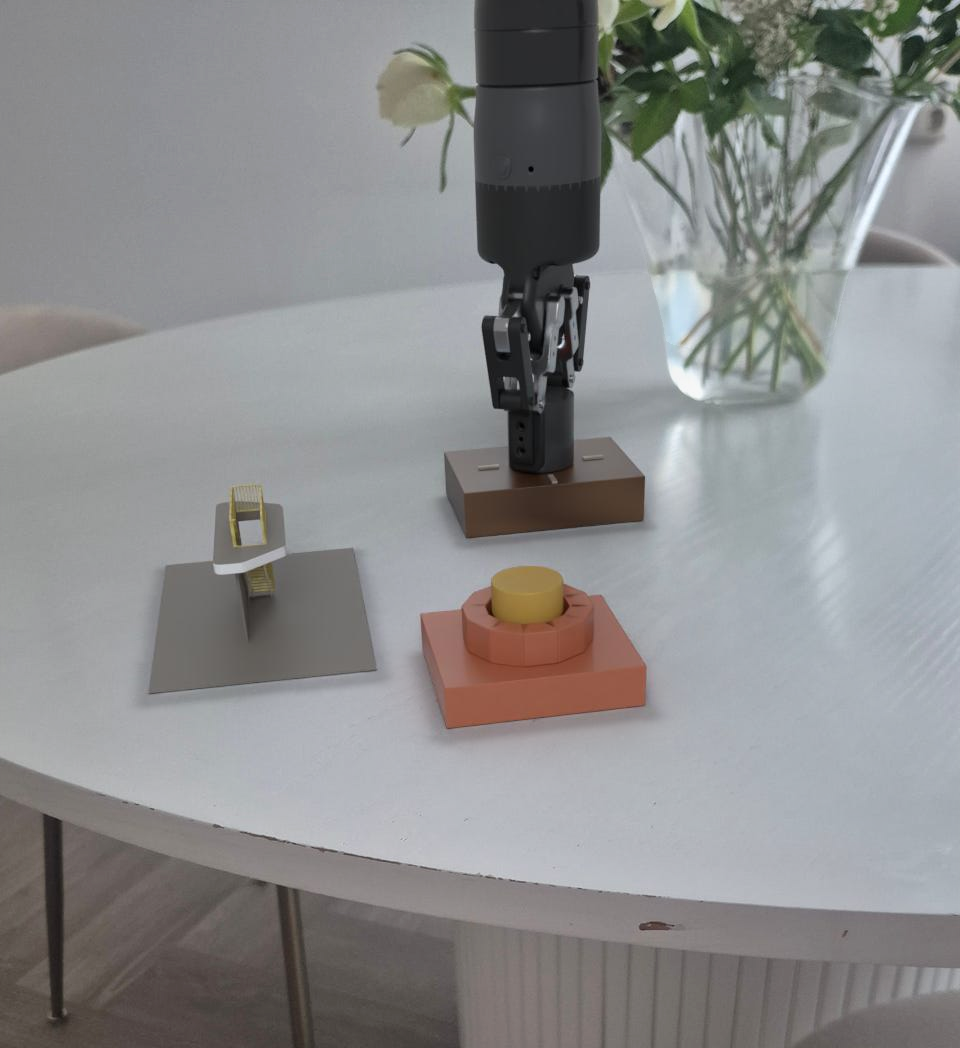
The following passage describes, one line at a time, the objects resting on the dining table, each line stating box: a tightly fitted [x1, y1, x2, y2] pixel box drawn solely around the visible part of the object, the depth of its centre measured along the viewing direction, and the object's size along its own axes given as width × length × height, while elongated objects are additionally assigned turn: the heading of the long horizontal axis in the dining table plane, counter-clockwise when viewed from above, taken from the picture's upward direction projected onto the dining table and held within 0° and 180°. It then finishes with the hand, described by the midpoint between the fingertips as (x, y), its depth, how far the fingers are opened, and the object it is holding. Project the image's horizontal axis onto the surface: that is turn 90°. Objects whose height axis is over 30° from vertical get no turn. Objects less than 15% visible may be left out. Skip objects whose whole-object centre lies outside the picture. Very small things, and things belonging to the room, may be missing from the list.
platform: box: [148, 483, 378, 694], centre depth 72 cm, size 12×18×7 cm, turn 9°
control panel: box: [443, 436, 646, 539], centre depth 86 cm, size 12×9×3 cm
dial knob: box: [506, 385, 575, 473], centre depth 84 cm, size 4×4×5 cm
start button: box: [490, 565, 564, 624], centre depth 63 cm, size 4×4×2 cm
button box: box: [419, 582, 648, 729], centre depth 65 cm, size 10×9×4 cm
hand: (540, 455), depth 85 cm, fingers closed on dial knob, 4 cm apart
